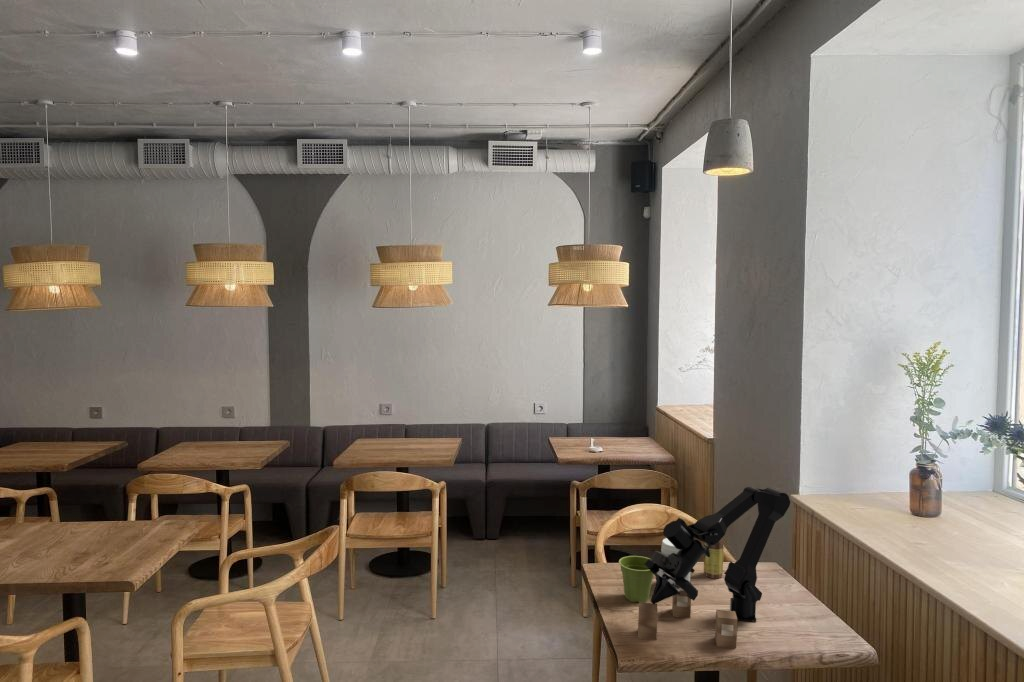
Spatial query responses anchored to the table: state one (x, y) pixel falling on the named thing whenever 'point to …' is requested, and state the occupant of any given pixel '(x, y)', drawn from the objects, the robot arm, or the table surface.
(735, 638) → the marked block
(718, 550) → the sauce bottle
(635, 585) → the plant pot
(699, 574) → the table surface
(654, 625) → the plain block
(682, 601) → the marked block
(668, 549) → the supplement tub
